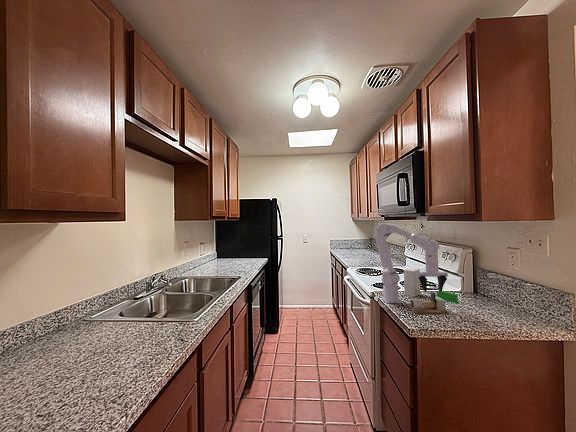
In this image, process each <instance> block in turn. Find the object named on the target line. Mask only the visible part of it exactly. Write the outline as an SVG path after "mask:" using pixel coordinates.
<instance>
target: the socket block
mask: <svg viewBox="0 0 576 432" xmlns="http://www.w3.org/2000/svg"><path fill="white" fill-rule="evenodd" d="M435 300H436V302H437V310H446V301H445V300H443V299H442V298H440V297H437V296H435Z"/></svg>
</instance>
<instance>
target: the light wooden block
mask: <svg viewBox="0 0 576 432" xmlns="http://www.w3.org/2000/svg"><path fill="white" fill-rule="evenodd" d="M429 297H430V300H423V301H424V307H437V302H436V300H435V297H436V293H435V292H434V291H430V295H429Z"/></svg>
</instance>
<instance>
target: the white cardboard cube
mask: <svg viewBox="0 0 576 432" xmlns="http://www.w3.org/2000/svg"><path fill="white" fill-rule="evenodd" d="M424 301H425V300H424V299H422V298H410V304H411V307H412V308H413V309H424Z"/></svg>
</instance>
